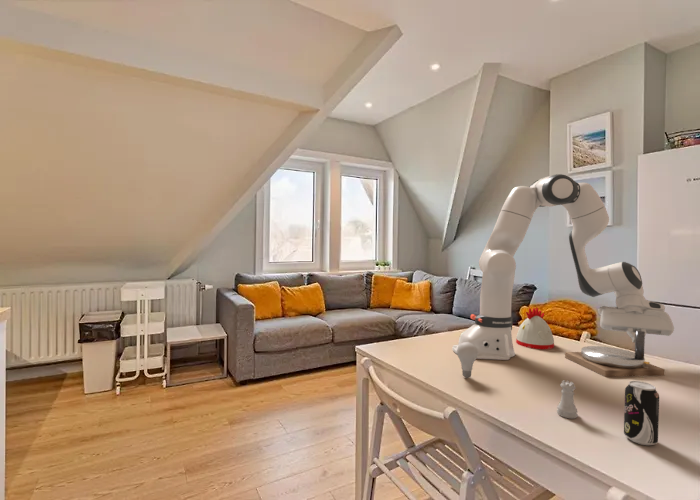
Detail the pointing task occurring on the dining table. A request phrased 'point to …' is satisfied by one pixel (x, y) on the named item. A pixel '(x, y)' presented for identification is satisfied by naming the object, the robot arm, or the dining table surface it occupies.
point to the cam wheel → (618, 354)
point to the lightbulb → (467, 357)
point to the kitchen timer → (535, 332)
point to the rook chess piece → (567, 401)
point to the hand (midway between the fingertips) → (638, 342)
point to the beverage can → (641, 413)
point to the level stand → (614, 371)
